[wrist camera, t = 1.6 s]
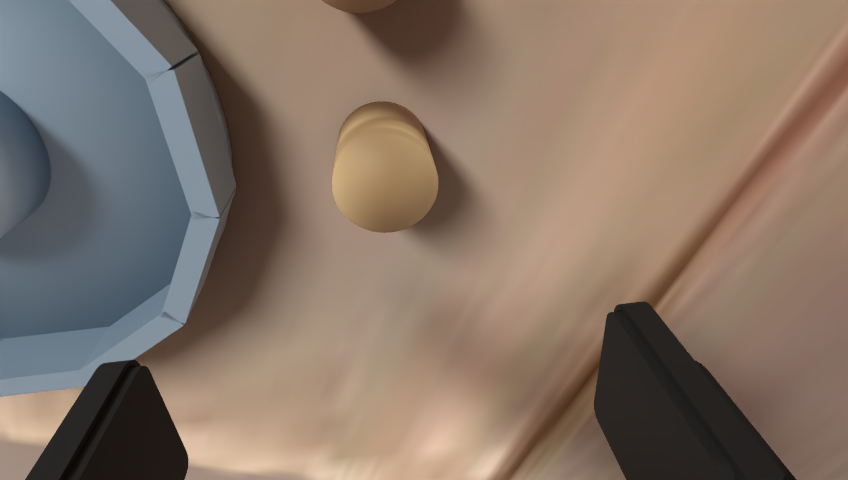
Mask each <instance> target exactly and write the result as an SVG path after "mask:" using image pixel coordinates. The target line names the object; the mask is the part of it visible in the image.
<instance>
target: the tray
mask: <svg viewBox="0 0 848 480" xmlns="http://www.w3.org/2000/svg"><path fill="white" fill-rule="evenodd" d="M236 186H237V185H236V181H235V178H234V174H233V163H232V147H231V142H230V137H229V133H228V128H227V123H226V118H225V114H224V112H223V109H222V106H221V103H220V100H219V97H218V94H217V91H216V88H215V85H214V83H213V81H212V79H211V77H210V75H209V73H208V70H207V68H206V66H205V64H204V62H203V60H202V58H201V56H200V54H199V52H198V50H197V48H196V47H195V45H194V44H193V42H192V40H191V39H190V37H189V36H188V34H187V32H186V31H185V29H184V28H183V26H182V24H181V23H180V21H179V20H178V18H177V17H176V15H175V14H174V13H173V11H172V10H171V9H170V8H169V6H168V5H167V4H166V2H165V1H164V0H0V397H3V396H11V395H19V394H28V393H36V392H44V391H52V390H61V389H69V388H77V387H85V386H86V384H87V383H88V381H89V380H90V378H91V377H92V375H93V373H94V372H95V370H96V369H97V368H98V367H99V365H101V364H103V363H108V362H117V361H126V360H133V359H135V358H136V357H138V356H139V355H141V354H142V353H144V352H145V351H147V350H148V349H150V348H151V347H153V346H154V345H156V344H157V343H159V342H160V341H162V340H163V339H165V338H166V337H167V336H169V335H170V334H172V333H173V332H175V331H176V330H178V329H179V328H181V327H182V326H184V324H185V323H186V321H187V319H188V317H189V315H190V313H191V311H192V308H193V306H194V304H195V302H196V300H197V298H198V296H199V294H200V292H201V290H202V288H203V286H204V283H205V280H206V277H207V274H208V272H209V269H210V266H211V263H212V260H213V257H214V254H215V251H216V248H217V245H218V243H219V240H220V238H221V236H222V233H223V231H224V229H225V226H226V222H227V218H228V214H229V210H230V206H231V203H232V200H233V197H234V194H235V191H236Z"/></svg>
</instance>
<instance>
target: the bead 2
mask: <svg viewBox="0 0 848 480" xmlns="http://www.w3.org/2000/svg"><path fill="white" fill-rule="evenodd" d="M332 190H333V195H334V199H335V201H336V204H337V205H338V207H339V209H340V210H341V212H342V213H343V214H344V215H345V216H346V217H347V218H348V219H349V220H350V221H351V222H353V223H354V224H356V225H358V226H359V227H362V228H364V229H367V230H370V231H375V232H384V233H385V232H395V231H400V230H403V229H406V228H408V227H411V226H412V225H414V224H416V223H417V222H419V221H420V220H421V219H422V218H423V217H424V216H425V215H426V214H427V213H428V212H429V211H430V209H431V207H432V206H433V204H434V202H435V200H436V196H437V193H438V174H437V170H436V167H435V164H434V160H433V157H432V154H431V151H430V148H429V144H428V141H427V138H426V135H425V132H424V129H423V127H422V125H421V123H420V121H419V120H418V119H417V117H416V116H415V115H414V114H413V113H412V112H411V111H409V110H408V109H406V108H405V107H403V106H401V105H398V104H395V103H391V102H373V103H369V104H366V105H363V106H361V107H359V108H358V109H356V110H355V111H354V112H352V113H351V114H350V115H349V116H348V117H347V119H346V120H345V122H344V123H343V125H342V127H341V129H340V132H339V137H338V143H337V150H336V157H335V163H334V170H333V177H332Z"/></svg>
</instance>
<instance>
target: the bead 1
mask: <svg viewBox="0 0 848 480" xmlns="http://www.w3.org/2000/svg"><path fill="white" fill-rule="evenodd" d="M322 1H324V2H325V3H327V4H329V5H330V6H332V7H334V8H337V9H339V10H342V11H346V12H351V13H369V12H374V11H377V10H381V9H383V8H385V7H387V6H389V5H391V4H392V3H394V2H395V1H396V0H322Z"/></svg>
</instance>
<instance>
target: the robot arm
mask: <svg viewBox="0 0 848 480" xmlns="http://www.w3.org/2000/svg"><path fill="white" fill-rule="evenodd" d="M594 410H595V414H596V418H597V420H598V422H599V424H600V426H601V429H602V431H603V433H604V435H605V437H606V439H607V441H608V443H609V445H610V447H611V449H612V451H613V453H614V455H615V457H616V459H617V461H618V463H619V465H620V467H621V469H622V472H623V474H624V476H625V478H626V480H796V479H795V477H794V476H793V475H792V474H791V472H790V471H789V470H788V469H787V468H786V466H785V465H784V464H783V463H782V461H781V460H780V459H779V458H778V456H777V455H776V454H775V453H774V451H773V450H772V449H771V448H770V447H769V445H768V444H767V443H766V442H765V440H764V439H763V438H762V437H761V435H760V434H759V433H758V432H757V430H756V429H755V428H754V427H753V425H752V424H751V423H750V422H749V421H748V419H747V418H746V417H745V416H744V414H743V413H742V412H741V411H740V409H739V408H738V407H737V406H736V404H735V403H734V402H733V401H732V400H731V398H730V397H729V396H728V395H727V393H726V392H725V391H724V390H723V388H722V387H721V386H720V385H719V383H718V382H717V381H716V380H715V378H714V377H713V376H712V375H711V374H710V372H709V371H708V370H707V369H706V368H705V367H704V366H703V365H702V364H701V363H699V362H697V361H694V359H693V358H692V357H691V356H690V354H689V353H688V352H687V351H686V349H685V348H684V347H683V346H682V344H681V343H680V342H679V341H678V339H677V338H676V337H675V336H674V334H673V333H672V332H671V331H670V329H669V328H668V327H667V326H666V324H665V323H664V322H663V320H662V319H661V318H660V317H659V315H658V314H657V313H656V312H655V310H654V309H653V308H652V307H651V305H649V304H648V303H647V302H636V303H627V304H619V305H617V306H616V307H615V310H614V312H610V313H608V315H607V318H606V325H605V332H604V339H603V345H602V352H601V359H600V366H599V372H598V379H597V386H596V393H595V399H594ZM187 469H188V455H187V452H186V449H185V447H184V445H183V443H182V441H181V438H180V436H179V434H178V432H177V430H176V427H175V425H174V423H173V421H172V419H171V417H170V414H169V412H168V410H167V408H166V406H165V403H164V401H163V399H162V397H161V395H160V392H159V390H158V388H157V386H156V384H155V382H154V379H153V377H152V375H151V373H150V371H149V369H148V368H147V367H146V366H140V364H139V363H138V362H137V361H136V360H126V361H117V362H108V363H103V364H101V365H99V367H98V368H97V369H96V370H95V372H94V373H93V375H92V377H91V378H90V380H89V381H88V383H87V384H86V386H85V387H84V389H83V391H82V392H81V394H80V395H79V397H78V398H77V400H76V401H75V403H74V405H73V406H72V408H71V409H70V411H69V412H68V414H67V415H66V417H65V419H64V420H63V422H62V423H61V425H60V426H59V428H58V429H57V431H56V433H55V434H54V436H53V437H52V439H51V440H50V442H49V443H48V445H47V447H46V448H45V450H44V451H43V453H42V454H41V456H40V458H39V459H38V461H37V462H36V464H35V465H34V467H33V468H32V470H31V472H30V473H29V475H28V476H27V478H26V479H25V480H184V479H185V476H186V473H187Z"/></svg>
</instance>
